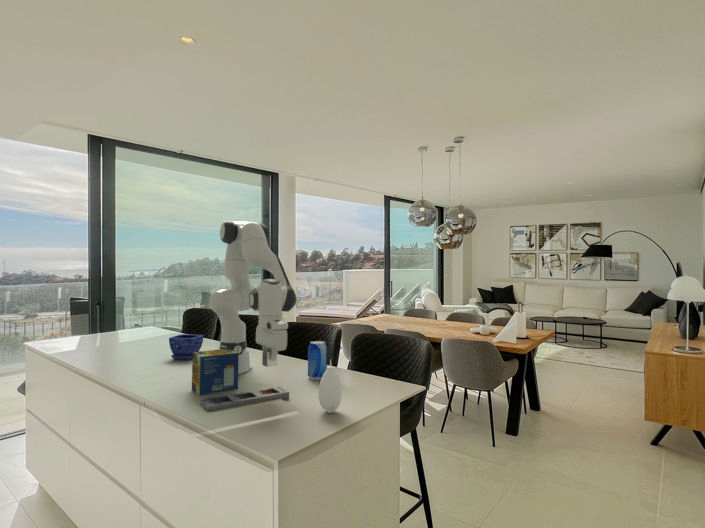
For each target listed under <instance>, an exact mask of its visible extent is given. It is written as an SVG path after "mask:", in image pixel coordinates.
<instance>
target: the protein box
mask: <svg viewBox="0 0 705 528" xmlns="http://www.w3.org/2000/svg"><path fill="white" fill-rule="evenodd" d="M238 360H239V353H237V352H235V351H234V350H232V349H230V348H227V349H220V348H219V349H210V350H209V349H208V350H201V351H200V350H199V352H192V359H191V363H192V364H191V365H192V367H191V392H192V391H193V393H195V394H196V395H198V396H203V395H209V394H215V393H221V392H222V393H223V392H227V391H233V390H238V389H239V374H238Z"/></svg>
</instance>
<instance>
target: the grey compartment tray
mask: <svg viewBox="0 0 705 528" xmlns="http://www.w3.org/2000/svg"><path fill="white" fill-rule="evenodd" d="M276 399H277V400H278V399H280V400H282V401H284V400H289V399H290V391H288V390H286V389H284V388H283V387H280V386H279V385H278V386H273V387H266V388H261V389H256V390H255V389H254V390H249V391H244V392H243V391H242V392H238V393H237V392H236V393H233V394H227V395H226V394H225V395H219V396H214V397H210V398H209V397H208V398H204V399H200V401H199V402H200V403H199V404H200V406H202V408H203V409H204V410H206V412H213V411H218V410H219V411H220V410H224V409H228V408H230V409H231V408H233V407H234V408H235V407H240V406H244V405H245V406H246V405H251V404H255V403H256V404H257V403H261V402H265V401H272V400H276Z"/></svg>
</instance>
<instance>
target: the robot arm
mask: <svg viewBox="0 0 705 528" xmlns="http://www.w3.org/2000/svg"><path fill="white" fill-rule="evenodd" d="M219 237H220V240H221V241H222V242H223V243H224V244H227V245H226V250H225V257H224V270H223V271H224V273H223V275H224V277H225V278H226V279H227V280H229V282H230V286H231V288H222V289H218V290H216V291H213V292H212V293H211V294H210V297H209V301H208V303H209V307H210V309H211V311H213V312H214V313H215V314H216V315H217V317H218V318H219V323H220V327H221V329H220V330H221V331H220V332H221V335H220V336H221V339H220V340H221V341H220V343H219V349H227V348H230V349H232V350H234V351H235V352H237V353H239V360H238V375H239V374H240V375H241V374H245V373H246V372H248V371H251V370H252V369H253V366H252V365H251V364H250V362H251V361H250V351H248V350H247V344H248V343H247V339H246V337H247V334H246V332H247V331H246V330H247V327H246V326H247V325H246V323H245V322H244V321H243V320H241V318H240V316H239V312H243V311H244V312H245V311H249V310H250V309H252V310H253V311H256V312H258V325H257V326H256V329H255V342H256V344H258V345H261V346H262V351H263V350H268V349H271V351H272V354H271V356H270V360H272V361H276V356H277V353H278V354H279V352H282V351H286V350H287V347H288V329H289V323H288V322H287V320H286V319H285V318H284V317H283V312H287V313H288V312H290V311H291V310H292V309H294V307H295V306H296V304H297V295H296V292H295V290H294V289H293V287H292V285H291V283H290V281H289V279H288V276H287V273H286V271H285V269H284V266H283V263H282V262H281V260H280V257H279V256H278V254H275V253H274V252H273V251H272V250H271V248H270V247H269V243H268V241H269V240H270V239H269V238H270V229H269V227H268V226H267V225H266V224H264V223H258V222H254V221H238V220H234V221H233V220H226V221H224V222H222V224H221V226H220V229H219ZM250 265H251V266H252V267H257V268H261V269H263V270H265V271H268V272H269V273H270V274H271V275H272V276H273V278H264V279H261V281H260V282H259V286H257V287H253V288H252V285H251V282H250V275H249V274H250V272H249V271H250Z"/></svg>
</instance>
